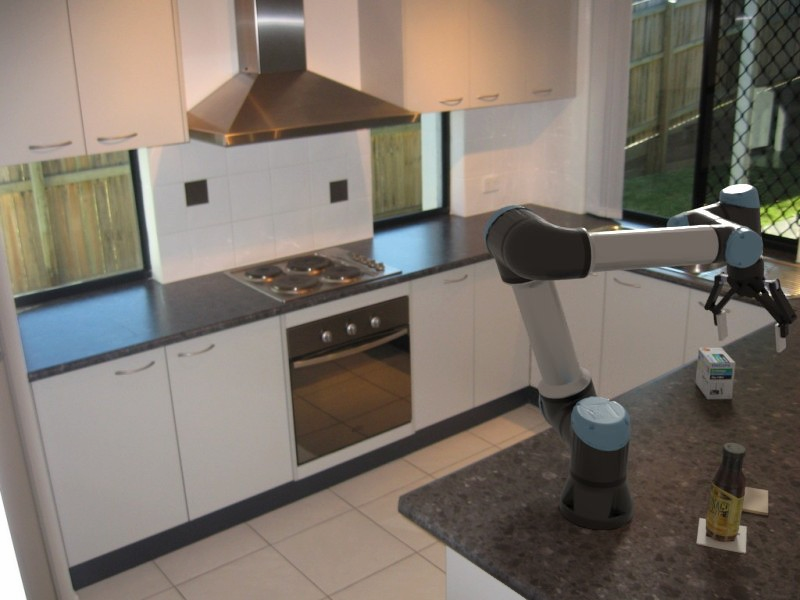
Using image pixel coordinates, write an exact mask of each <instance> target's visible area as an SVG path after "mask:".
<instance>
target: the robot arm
mask: <svg viewBox="0 0 800 600" xmlns="http://www.w3.org/2000/svg"><path fill="white" fill-rule="evenodd" d="M718 199H719V201H717V202H714V203H712V204H709V205H706V206H701V207H698V208H695V209H692V210H688V211H687V210H686V211H683V212H681V213H678V214H676V215H674V216H671V217H670V218H669V219H668V221H667V223H666V227H654V228H653V227H652V228H641V229H639V228H638V229H636V228H635V229H623V230H608V231H607V230H606V231H592V232H589V231H587V229H586V228H584V227H564V226H560V225H556V224H553V223H550V222H549V221H547V220H545V219H544V218H542V217H541V216H539V215H538V214H536V213H535V212H534V210H532V209H530V208H528V207H525V206H521V205H514V204H513V205H507V206H504V207H501V208H499V209H498V210H497V211H495V212H494V213H492V215H491V216H489V218H488V220H487V222H486V224H485V226H484V230H483V242H484V245H485V247H486V250H488V252H489V253H490V254H491V256H493V257H494V260H495V264H496V267H497V269H498V273H499V276H500V279H501V281H502V282H503V283H504V284H506V285H508V286H510V287H511V288H512V291H513V294H514V297H515V300H516V303H517V306H518V309H519V313H520V315H521V319H522V321H523V324H524V325H523V326H524V328H525V331H526V333H527V336H528V340H529V343H530V346H531V348H532V352H533V355H534V358H535V361H536V365H537V366H538V369H539V373H540V377H541V379H540V380H539V382H538V385H537V390H538V393H539V394H538V406H539V409H540V412H541V414H542V416H543V418H544V420H545V421H546V422H547V423H548V425H549V426H551V427H552V429H554V431H555V432H556V433H557V434H558V435H559V437H560V438H561V439H562V441H563V442H564V443H565V445H566V446H567V447H568V448H569V453H570V454H569V473H568V476H567V478H566V480H565V483H564V486H563V488H562V489H561V492H560V495H559V510H560V512H561V514H562V516H564V518H566V519H567V520H569V521H570V522H571V523H573V524H575V525H576V526H580V527H583V528H587V529H590V530H591V529H592V530H600V531H604V530H613V529H618V528H620V527H623V526H625V525H626V524H628V523H629V522H630V521H631V519H632V518H633V516H634V499H633V497H632V493H631V490H630V486H629V483H628V468H629V467H628V465H629V453H630V442H631V441H630V440H631V435H632V426H631V418H630V417H631V416H630V414H629V413H628V411H627V409H626V407H624V406H623V405H622V404H620V403H619V402H617V401H615V400H612V401H611V400H610V399H609V398H606V397H601V396H600V397H599V396H598V395H597V393H596V388H595V385H594V383H593V379H592V376H591V373H590V371H589V370H587V369H586V368H584V367H581V365H580V361H579V357H578V355H577V351H576V347H575V345H574V341H573V337H572V334H571V331H570V328H569V325H568V321H567V318H566V314H565V311H564V308H563V306H562V301H561V299H560V295H559V292H558V289H557V288H558V287H557V285H556V282H555V281H567V280H577V279H578V280H579V279H580V280H581V279H586V278H587V277H589V275H590V274H591V273H601V272H614V271H626V270H627V271H628V270H629V271H630V270H642V269H654V268H655V269H656V268H668V267H682V266H695V265H696V266H697V265H709V264H710V265H711V264H724V263H725V264H726V265H725V266H726V273H725V272H724V271H720V272H718V273H717V274H716V275H714V277H713V279H714V280H713V282H714V283H713V286H712V287H711V290H710V292H709V295H708V297H707V299H706V302H705V304H704V306H703V308H704V310H706V311H710V312H711V313H712V314H713V315H712V316H713V324H714V326H716V327H717V334H718V335H717V336H718V341H719V342H723V341H724V340H726V339H727V337H729V334H728V324H727V323H728V320H727V312H726V310H723V309H724V307H725V306H726V305H727V304H728V303H729V302H730V301H731V300H732V299H733V298H734V297H735V295H737V296H738V297H741V298H742V297H745V298H748V299H753V298H754V300H755V301H756V302H757V303H760V304H761V305H762V306H763V308H764V309H765V310H766V311H767V313H768V314H769V315H770V316H771V317H772V318H773V320H774V321H776V323H775V324H774V332H775V333H774V334H775V347H776V348H775V349H776V353H781V352H782V351H784V350H785V349H786V348H787V341H786V338H787V337H788V336H789V334H790V332H789V331H790V329H789V328H790V327H789V325H791V324H793V323H794V322H795V321H797V320H798V316H797V314H796V312H795V311H794V309H793V307H792V305H791V303H790V301H789V300H788V298H787V296H786V294H785V292H784V291H783V289H782V286H781V281H780V279H779V278H774V279H771V280H770V279H766V277H765V261H764V256H763V253H764V251H763V249H764V243H763V238H762V237H763V236H762V221H761V204H760V196H759V193H758V190H757V188H756V187H755V186H753V185H751V184H745V183H744V184H743V183H742V184H741V183H740V184H732V185H729V186H726V187H725V188H723V189H721V190H720V192H719V198H718ZM726 282H727V284H728V285H729V287H730V289H729V290H728V291H727V292H726V293H725V295H724V296H723V297H722V298H721V299H720V300H719V302H718V303H717V300H718V298H719V296H720V293H721V291H722V289H723V287H724V284H725V283H726ZM760 294H761V295H760ZM716 303H717V304H716Z"/></svg>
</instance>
